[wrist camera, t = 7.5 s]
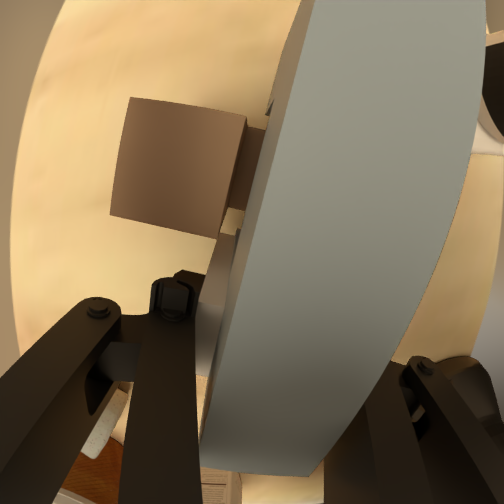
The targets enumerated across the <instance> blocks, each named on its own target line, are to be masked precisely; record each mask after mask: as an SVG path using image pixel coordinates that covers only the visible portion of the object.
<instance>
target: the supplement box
mask: <svg viewBox="0 0 504 504" xmlns="http://www.w3.org/2000/svg"><path fill="white" fill-rule="evenodd" d="M200 472H201V485H202V497H203V504H242V484H241V480H240V477H239V473H238V472H232V471H225V470H218V469H212V468H206V467H200Z"/></svg>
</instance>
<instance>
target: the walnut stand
mask: <svg viewBox="0 0 504 504" xmlns="http://www.w3.org/2000/svg"><path fill="white" fill-rule="evenodd" d="M265 132H266V131H265V130H261V129H257V128H253V127H248V124H247V118H246V116H242V115H238V114H233V113H228V112H224V111H219V110H214V109H208V108H203V107H197V106H191V105H185V104H179V103H173V102H166V101H159V100H151V99H143V98H134V97H130V100H129V104H128V108H127V113H126V117H125V122H124V127H123V131H122V136H121V142H120V147H119V152H118V158H117V164H116V170H115V177H114V184H113V191H112V199H111V207H110V215H112V216H116V217H121V218H125V219H130V220H134V221H138V222H143V223H147V224H152V225H156V226H160V227H165V228H169V229H174V230H178V231H182V232H187V233H191V234H195V235H200V236H204V237H209V238H213V239H217V238H218V235H219V232H220V229H221V226H222V223H223V220H224V217H225V215H226V212H227V209H228V207H230V208H235V209H239V210H243V211H246V207H247V203H248V199H249V195H250V191H251V187H252V183H253V179H254V175H255V171H256V168H257V164H258V160H259V156H260V152H261V148H262V144H263V140H264V136H265ZM460 195H461V194H460ZM459 199H460V198H459ZM458 202H459V201H458ZM457 205H458V204H457ZM456 208H457V207H456ZM455 212H456V211H455ZM454 215H455V214H454ZM453 218H454V217H453ZM452 221H453V220H452ZM451 224H452V223H451ZM450 227H451V226H450ZM449 230H450V229H449ZM448 233H449V232H448ZM446 238H447V237H446ZM445 241H446V240H445ZM444 244H445V243H444ZM442 249H443V248H442ZM441 252H442V251H441ZM439 257H440V256H439ZM437 262H438V261H437ZM435 267H436V266H435ZM433 272H434V271H433ZM431 277H432V276H431ZM430 279H431V278H430ZM428 284H429V283H428ZM427 286H428V285H427Z"/></svg>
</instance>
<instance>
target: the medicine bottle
mask: <svg viewBox="0 0 504 504" xmlns="http://www.w3.org/2000/svg"><path fill="white" fill-rule="evenodd" d="M471 154H484V155H497V156H504V30H501V31H498V32H495V33H491V34H486V47H485V64H484V76H483V85H482V94H481V101H480V108H479V115H478V121H477V126H476V132H475V137H474V142H473V146H472V151H471Z"/></svg>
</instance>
